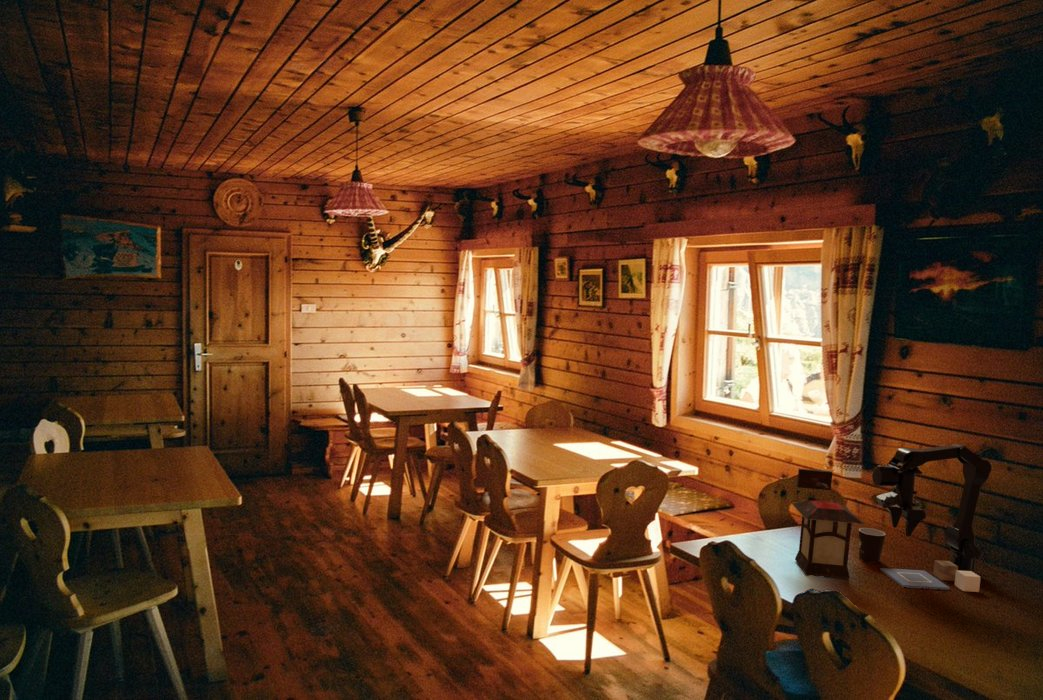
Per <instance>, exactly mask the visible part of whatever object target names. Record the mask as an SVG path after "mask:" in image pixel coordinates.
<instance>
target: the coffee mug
mask: <svg viewBox="0 0 1043 700" xmlns="http://www.w3.org/2000/svg"><path fill="white" fill-rule="evenodd" d="M885 539H886V532H884V531H882V530H879V529H876V528H871V527H870V528H869V527H862V528H861V527H860V528H859V529H858V558H860V559H862V560H864V561H863V562H865V561H867V562H866V563H869V562H876V563H875V564H877V562H879V563H880V560H881V555H882V551H883V549H884V548H883V547H884V543H885ZM860 559H859V560H860ZM862 560H861V561H862Z"/></svg>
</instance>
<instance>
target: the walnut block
mask: <svg viewBox="0 0 1043 700" xmlns="http://www.w3.org/2000/svg"><path fill="white" fill-rule="evenodd" d="M956 570H958V566H957V565H955V564H953V563H952V562H950V560H941V559H940V560H938V559H936V560H934V564H933V571H932V572H933V573H932V575H933V574H934V575H933V576H934V577H936V576H937V577H936V578H937V579H938V580H940V581H952V582H955V575H956Z"/></svg>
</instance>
